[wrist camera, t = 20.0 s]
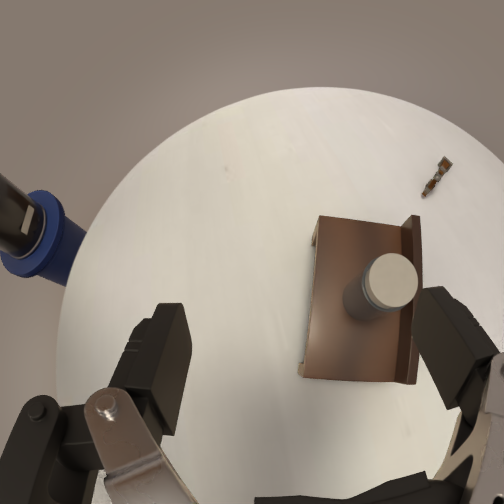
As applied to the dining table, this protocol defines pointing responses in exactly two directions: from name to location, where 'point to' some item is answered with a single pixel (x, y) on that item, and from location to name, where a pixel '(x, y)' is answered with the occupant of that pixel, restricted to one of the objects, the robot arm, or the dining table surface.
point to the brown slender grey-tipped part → (438, 174)
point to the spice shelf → (341, 323)
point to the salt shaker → (380, 288)
